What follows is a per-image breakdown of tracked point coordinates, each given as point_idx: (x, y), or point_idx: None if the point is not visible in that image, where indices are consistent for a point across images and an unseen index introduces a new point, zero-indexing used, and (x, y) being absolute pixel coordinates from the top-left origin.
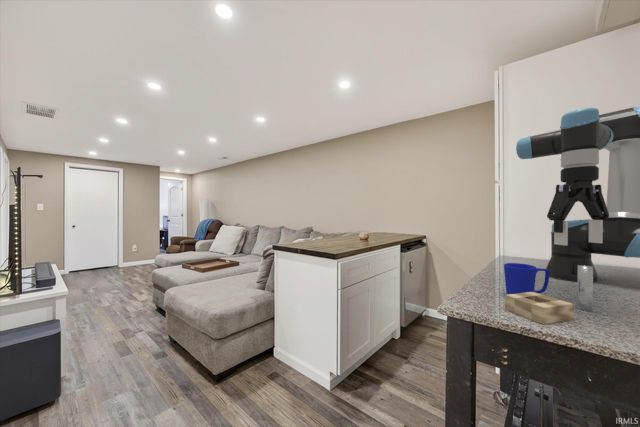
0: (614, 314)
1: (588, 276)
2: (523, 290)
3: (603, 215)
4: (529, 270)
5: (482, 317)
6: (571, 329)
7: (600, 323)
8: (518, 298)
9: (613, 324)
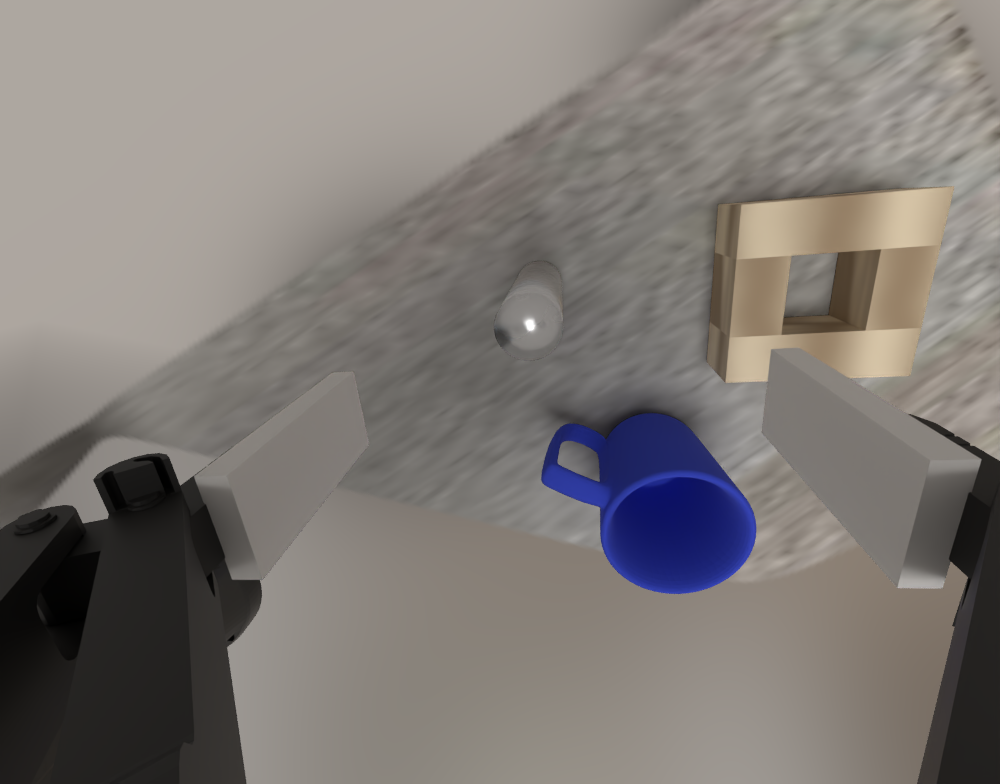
0: (487, 216)
1: (547, 289)
2: (690, 432)
3: (119, 520)
4: (701, 469)
5: None
6: (847, 123)
7: (655, 151)
8: (907, 320)
9: (616, 132)
